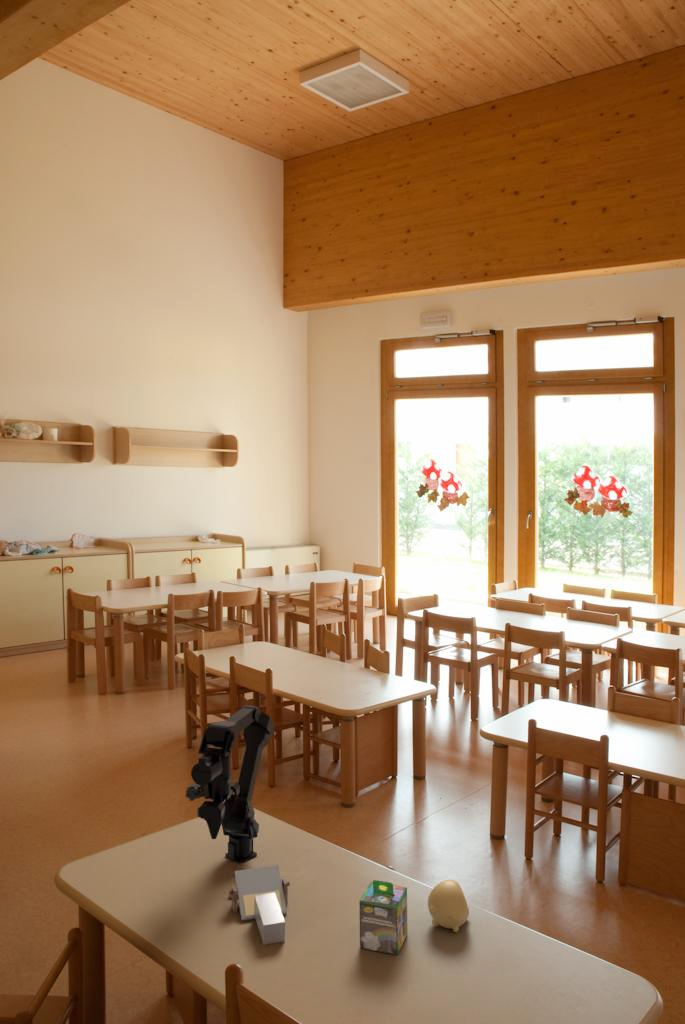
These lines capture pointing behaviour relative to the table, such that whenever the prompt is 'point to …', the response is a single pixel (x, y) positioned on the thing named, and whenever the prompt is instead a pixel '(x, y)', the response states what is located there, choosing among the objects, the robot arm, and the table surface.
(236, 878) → the trapdoor
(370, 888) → the chalk box
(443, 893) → the toy pig
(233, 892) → the trapdoor frame
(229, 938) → the table surface
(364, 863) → the table surface
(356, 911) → the table surface
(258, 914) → the tall grey rectangular block
